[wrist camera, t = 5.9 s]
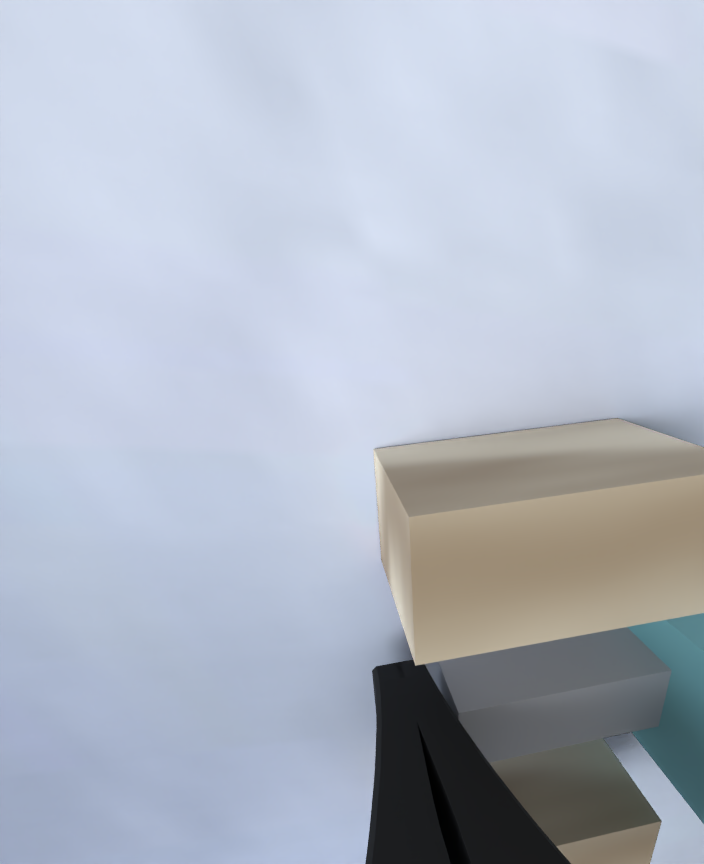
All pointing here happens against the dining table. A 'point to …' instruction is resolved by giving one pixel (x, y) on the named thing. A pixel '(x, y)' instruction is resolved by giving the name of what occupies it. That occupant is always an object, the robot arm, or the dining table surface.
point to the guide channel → (547, 580)
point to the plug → (590, 696)
